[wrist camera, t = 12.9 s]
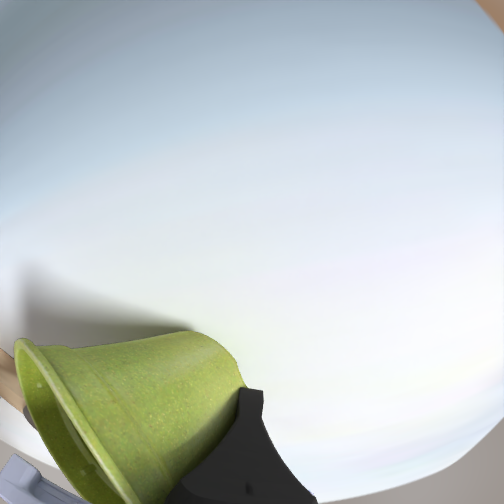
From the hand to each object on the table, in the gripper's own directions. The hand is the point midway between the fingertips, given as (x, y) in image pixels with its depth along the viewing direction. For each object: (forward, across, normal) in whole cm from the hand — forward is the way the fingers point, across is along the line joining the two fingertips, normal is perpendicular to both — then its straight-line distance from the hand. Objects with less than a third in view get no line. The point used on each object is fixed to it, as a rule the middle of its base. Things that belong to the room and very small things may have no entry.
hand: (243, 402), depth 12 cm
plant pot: (+2, +2, +1) cm, 3 cm away
